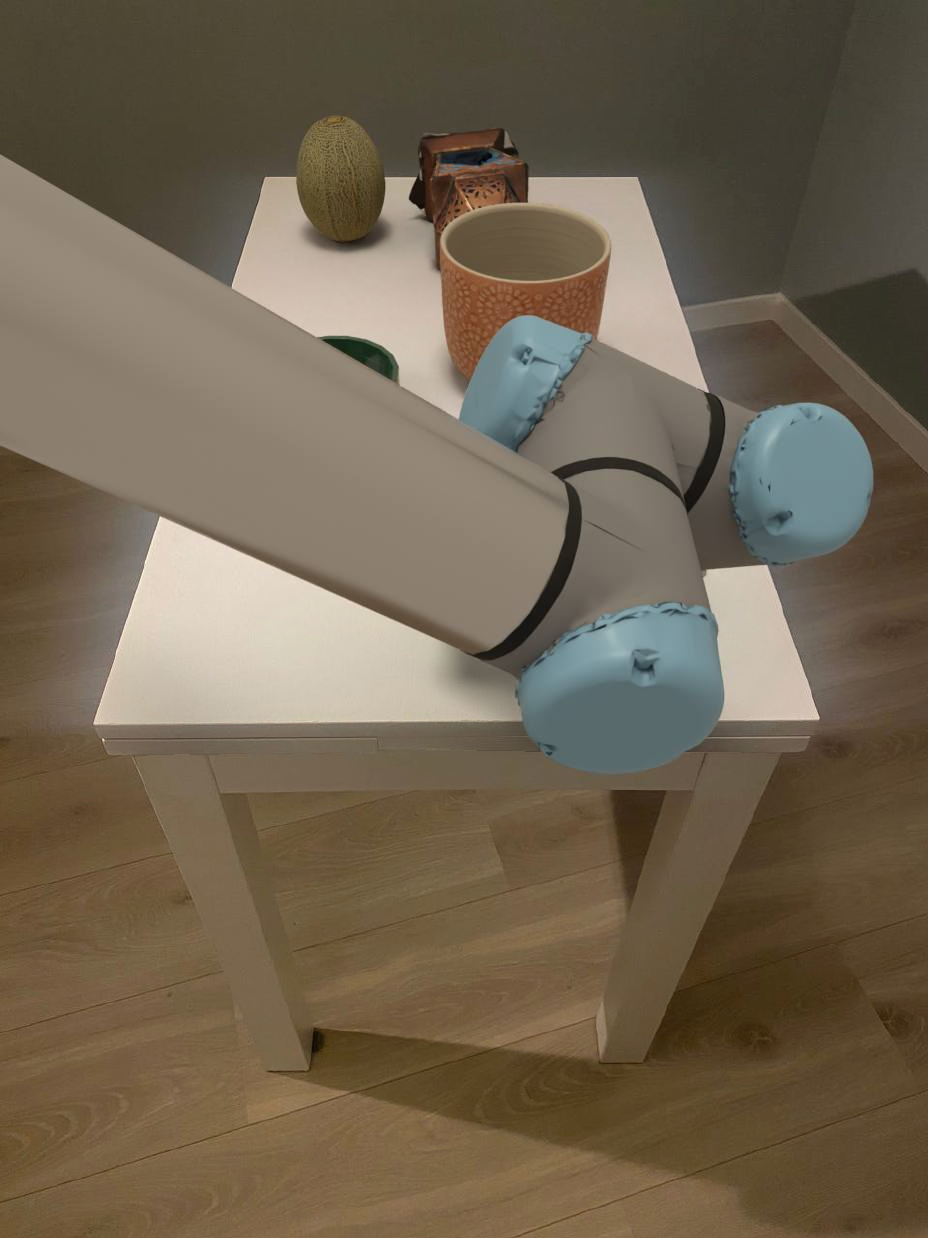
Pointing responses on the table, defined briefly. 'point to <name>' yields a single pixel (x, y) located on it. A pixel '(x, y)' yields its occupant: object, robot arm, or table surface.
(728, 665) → the table surface
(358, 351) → the green bowl
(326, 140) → the fruit
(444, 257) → the planter
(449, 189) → the lantern
